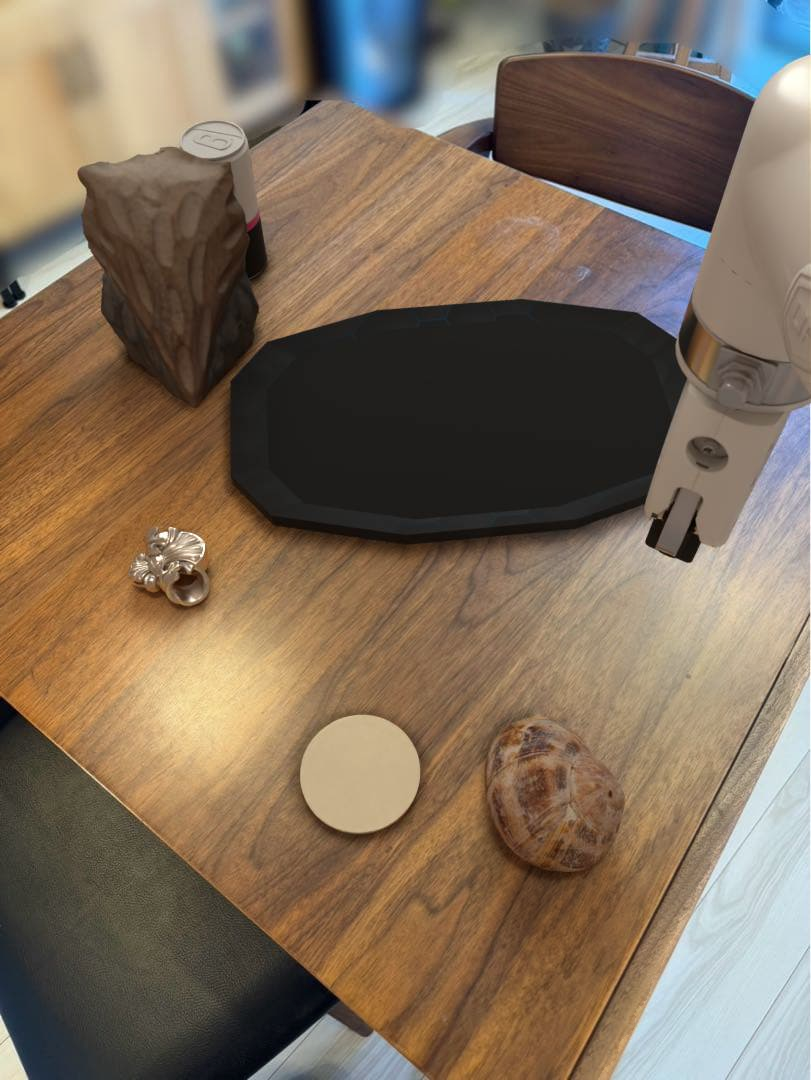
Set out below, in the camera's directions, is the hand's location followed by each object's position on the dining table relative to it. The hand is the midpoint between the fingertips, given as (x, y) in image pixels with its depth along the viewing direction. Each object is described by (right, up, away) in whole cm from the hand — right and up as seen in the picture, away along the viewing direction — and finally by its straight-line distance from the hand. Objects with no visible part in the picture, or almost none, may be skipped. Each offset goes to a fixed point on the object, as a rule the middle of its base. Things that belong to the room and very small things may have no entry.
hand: (671, 545), depth 58 cm
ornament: (-37, -3, +18) cm, 42 cm away
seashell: (-7, -19, +8) cm, 22 cm away
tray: (-11, +12, +28) cm, 32 cm away
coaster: (-21, -17, +9) cm, 28 cm away
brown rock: (-39, +19, +32) cm, 54 cm away
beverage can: (-36, +30, +40) cm, 61 cm away
